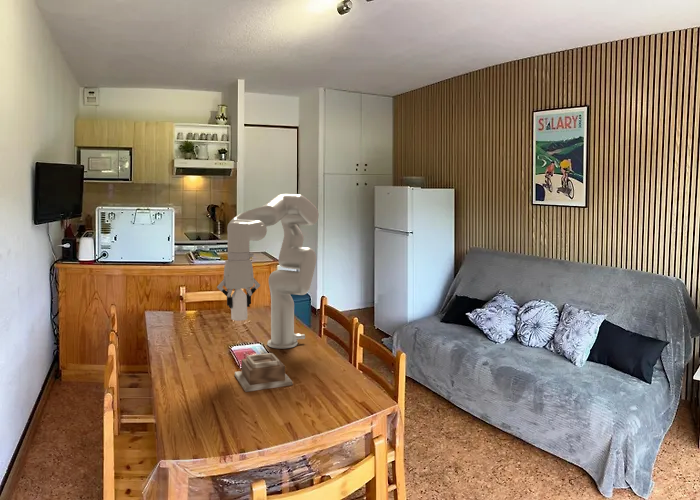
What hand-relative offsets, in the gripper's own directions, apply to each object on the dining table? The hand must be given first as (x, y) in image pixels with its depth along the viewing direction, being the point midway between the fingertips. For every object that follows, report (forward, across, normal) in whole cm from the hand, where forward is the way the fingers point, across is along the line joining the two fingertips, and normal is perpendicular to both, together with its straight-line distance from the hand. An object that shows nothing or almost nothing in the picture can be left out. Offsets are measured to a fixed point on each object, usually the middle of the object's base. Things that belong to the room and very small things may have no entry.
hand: (239, 306), depth 189 cm
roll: (+5, 0, 0) cm, 5 cm away
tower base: (+23, -6, +13) cm, 27 cm away
